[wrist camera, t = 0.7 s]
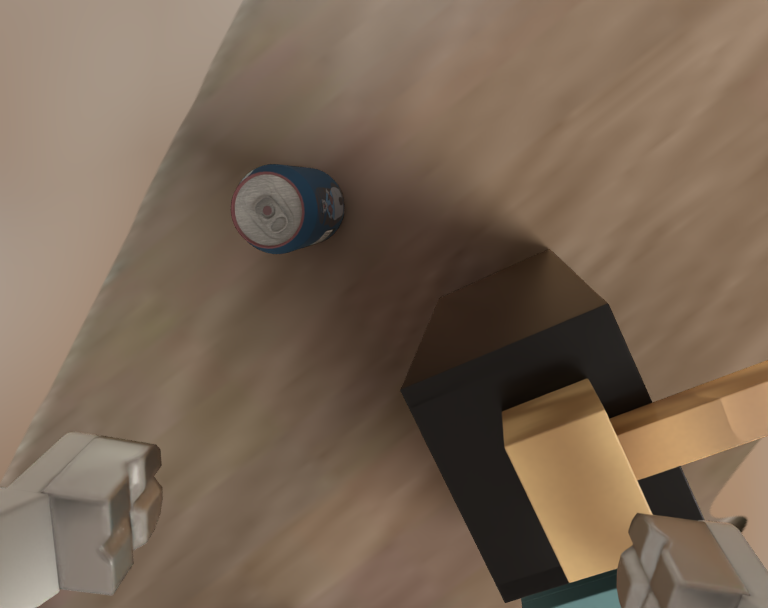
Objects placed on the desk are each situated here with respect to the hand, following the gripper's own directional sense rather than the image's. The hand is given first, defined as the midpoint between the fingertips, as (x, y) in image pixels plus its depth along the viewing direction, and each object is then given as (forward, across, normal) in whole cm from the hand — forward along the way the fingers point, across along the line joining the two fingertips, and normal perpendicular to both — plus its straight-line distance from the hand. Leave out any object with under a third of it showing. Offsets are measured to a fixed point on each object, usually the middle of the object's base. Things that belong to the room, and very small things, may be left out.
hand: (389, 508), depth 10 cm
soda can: (+47, +10, +5) cm, 48 cm away
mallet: (+17, -13, +7) cm, 23 cm away
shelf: (+43, -11, +14) cm, 46 cm away
